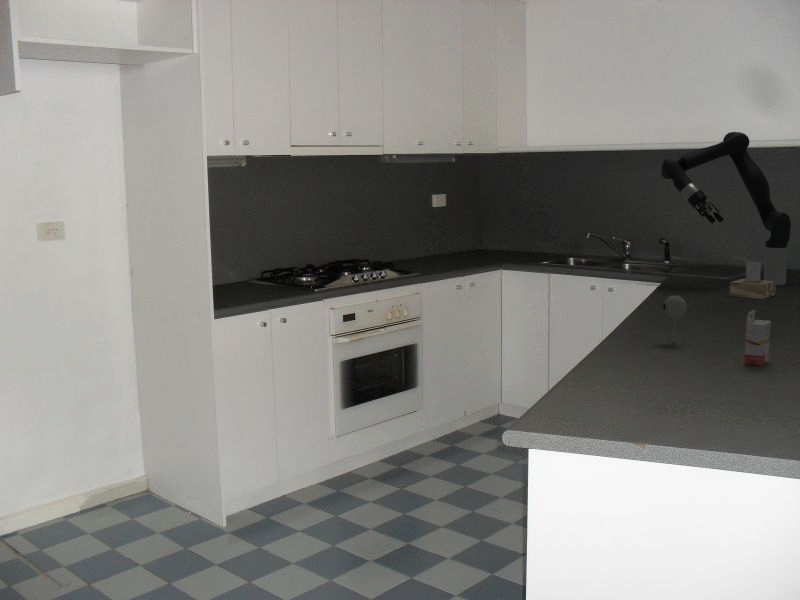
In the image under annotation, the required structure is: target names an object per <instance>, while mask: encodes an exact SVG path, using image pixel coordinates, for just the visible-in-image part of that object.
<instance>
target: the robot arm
mask: <svg viewBox="0 0 800 600" xmlns="http://www.w3.org/2000/svg"><path fill="white" fill-rule="evenodd" d="M749 146H750V138H749V136H748V135H747V134H746V133H743V132H741V131H731V132H728V133H726V134H725V135H724V137H723V140H722V141H721V142H719V143H716V144H713V145H710V146H707V147H702V148H698V149H695V150H693V151H690V152H687V153H686V154H684V155H682V156H681V157H680V158H679V159H678V160H675V159H674V158H666V159H664V161H663V162H662V164H661V170H660V174H661V176H662V178H664V179H667V180H672V182H673V186H674V187H675V189H676V190H677V191H678V192H679V193H680V194H681V196H682V197H683V198H684V200H686V201H687V202H688V204H689V205H690V206H691V207H692V208H693V209H695V210H696V211H697V213H699V215H700V217H702V218H705V219H707V220H708V222H709V223H710V224H712V225H713V224H714V223H715V222H716V221H718V223H722V222H723V221H724V217H723V216H722V215H721V214H720V212H721V211H720V210H719V209H718V208H717V207H716V206H715V205H714V204H713V203H712V202H711V201H710V202H708V201H707V199H708V196H707V195H706V194H705V193H704V191H703V190H702V189H701V188H700V187H699V186H698V185H697V184H696V183H694V181H692V179H691V178H690V177H689V176H688V175H687V174H686V172H687V171H689V170H691V169H694V168H697V167H699V166H702V165H703V164H707V163H708V162H711V161H714V160H716V159H720V158H723V157H727V156H729V157H730V159H731V160H732V163H734V166H735V168H736V169H737V172H738V174H739V176H740V178H741V180H742V183H743V185H744V186H745V188H746V191H747V192H748V195H749V196H750V198H751V199H752V203H753V204H754V205H755V208H756V210H757V211H758V214H759V218H760V219H761V221H762V225H763V226H764V228H765V229H766V231H768V232H770V235H769V239H768V240H766V241H765V248H764V250H765V251H764V271H763V274H764V275H763V280H767V281H776V286H785V285H786V280H787V258H788V257H787V255H788V243H789V242H790V238H791V229H792V222H791V217H790V215H788V214H787V213H786V212H783V211H782V212H779V211H778V210H777V208H775V206H774V204H773V203H772V198H771V191H770V185H769V182H768V179H767V177H766V175H765V174H764V172H763V171H762V169H761V168H760V167H759V166H758V164H757V163H756V162H755V161H754V160H753V159H752V158H751V156H750V154H749V153H748V150H747V149H748V148H749Z"/></svg>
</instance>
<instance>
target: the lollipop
mask: <svg viewBox="0 0 800 600" xmlns="http://www.w3.org/2000/svg"><path fill="white" fill-rule="evenodd" d="M662 309H663V311H664V313H665V315H666V316H667V317H669V318H671V319H673V322H672V324H673V326H672V327H673V328H672V343H673V342H675V343H676V322H677V321H676V320H677V319H679V318H681V317H683V316H684V315H685V313H686V312H687V309H688V306H687V302H686V300H685V299H684V298H683V297H682V296H679V295H671V296H668V297H666V298H665V300H664V302H663V305H662Z"/></svg>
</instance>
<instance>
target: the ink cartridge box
mask: <svg viewBox="0 0 800 600" xmlns="http://www.w3.org/2000/svg"><path fill="white" fill-rule="evenodd" d="M755 315H756V309H752V310H751V311H749V312H748V313H747V316H746V323H745V341H744V342H745V343H744V365H749V366H750V365H752V366H756V367H757V366H758V367H759V366H760V367H762V366H764V365H765V364H766V363H767V362H768V361H769V355H770V354H769V353H770V342H771V341H770V340H771V338H770V337H771V323H772V320H765V319H763V320H762V319H755Z"/></svg>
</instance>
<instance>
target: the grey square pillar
mask: <svg viewBox="0 0 800 600" xmlns="http://www.w3.org/2000/svg"><path fill="white" fill-rule="evenodd" d="M745 264H746V265H745V279H746V282H750V283H760V280H761V271H762V270H761V269H762V267H761V266H762V265H761V264H762V262H754V261H750V262H749V261H748V262H746V263H745Z"/></svg>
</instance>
